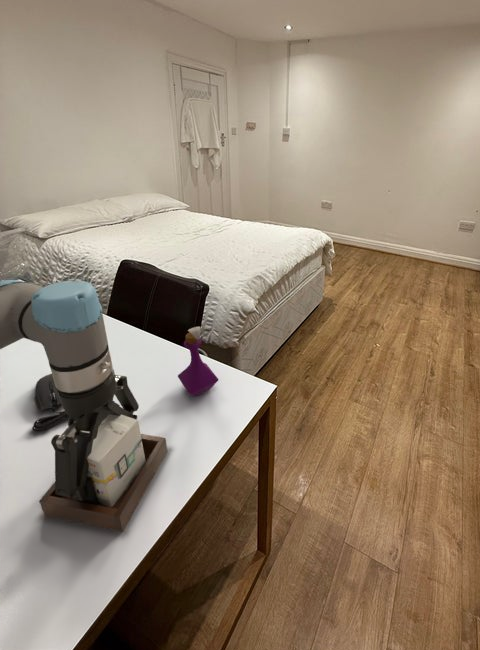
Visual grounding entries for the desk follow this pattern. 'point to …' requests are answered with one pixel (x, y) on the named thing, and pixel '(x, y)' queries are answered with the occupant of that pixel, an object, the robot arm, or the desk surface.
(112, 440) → the ink box
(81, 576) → the desk surface
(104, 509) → the wooden tray
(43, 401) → the computer mouse
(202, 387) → the perfume bottle
